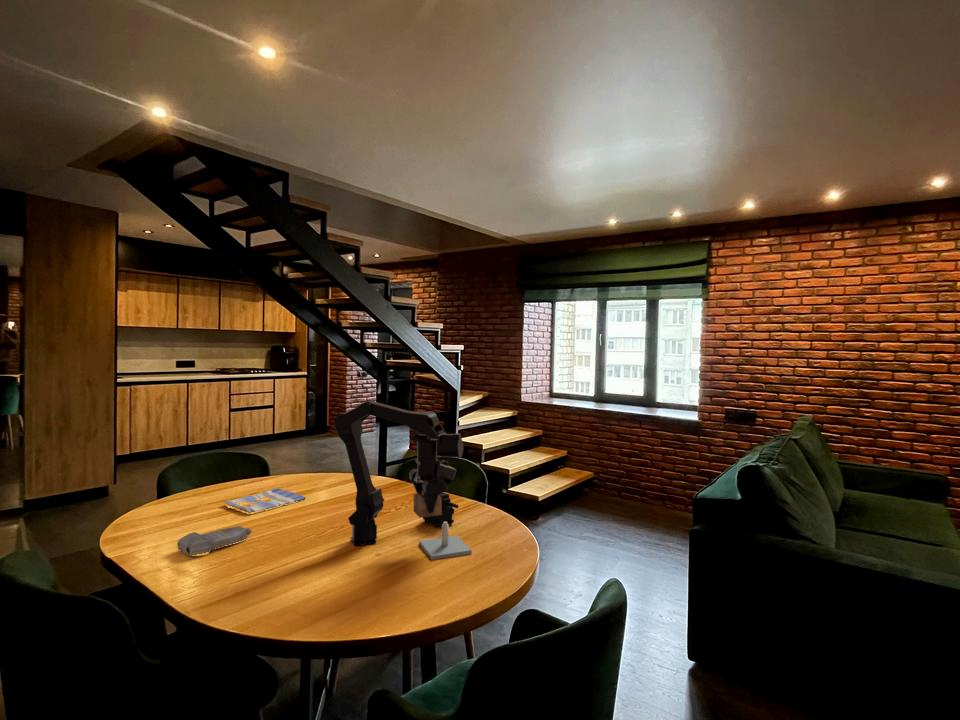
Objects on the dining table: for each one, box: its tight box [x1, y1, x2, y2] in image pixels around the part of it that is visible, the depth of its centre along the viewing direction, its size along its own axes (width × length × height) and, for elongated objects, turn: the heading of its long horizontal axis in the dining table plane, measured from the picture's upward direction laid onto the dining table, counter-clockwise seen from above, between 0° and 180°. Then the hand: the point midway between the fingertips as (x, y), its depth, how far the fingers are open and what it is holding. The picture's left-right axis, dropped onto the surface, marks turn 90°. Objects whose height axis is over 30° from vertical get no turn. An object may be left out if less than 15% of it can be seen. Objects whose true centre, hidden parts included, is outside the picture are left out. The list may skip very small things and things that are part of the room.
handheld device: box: [176, 525, 253, 557], centre depth 149 cm, size 10×20×5 cm, turn 144°
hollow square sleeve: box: [413, 493, 442, 519], centre depth 149 cm, size 6×6×5 cm
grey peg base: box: [418, 522, 473, 561], centre depth 149 cm, size 12×12×8 cm
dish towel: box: [223, 487, 306, 513], centre depth 189 cm, size 17×24×3 cm
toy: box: [422, 492, 459, 529], centre depth 169 cm, size 8×14×10 cm, turn 44°
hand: (427, 509), depth 149 cm, fingers closed on hollow square sleeve, 6 cm apart
